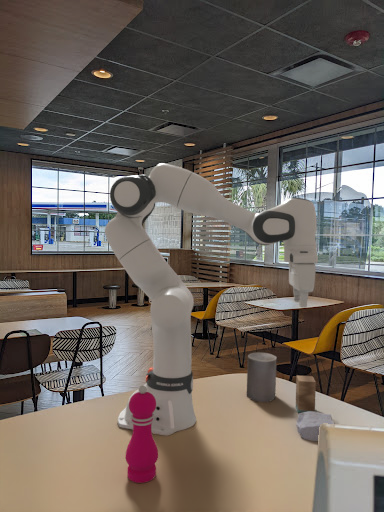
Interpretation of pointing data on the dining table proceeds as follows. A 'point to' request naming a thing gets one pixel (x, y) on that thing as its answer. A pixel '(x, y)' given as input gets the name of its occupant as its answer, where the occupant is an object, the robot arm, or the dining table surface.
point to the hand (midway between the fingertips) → (300, 304)
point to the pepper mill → (142, 438)
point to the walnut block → (305, 393)
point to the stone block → (311, 424)
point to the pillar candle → (261, 377)
